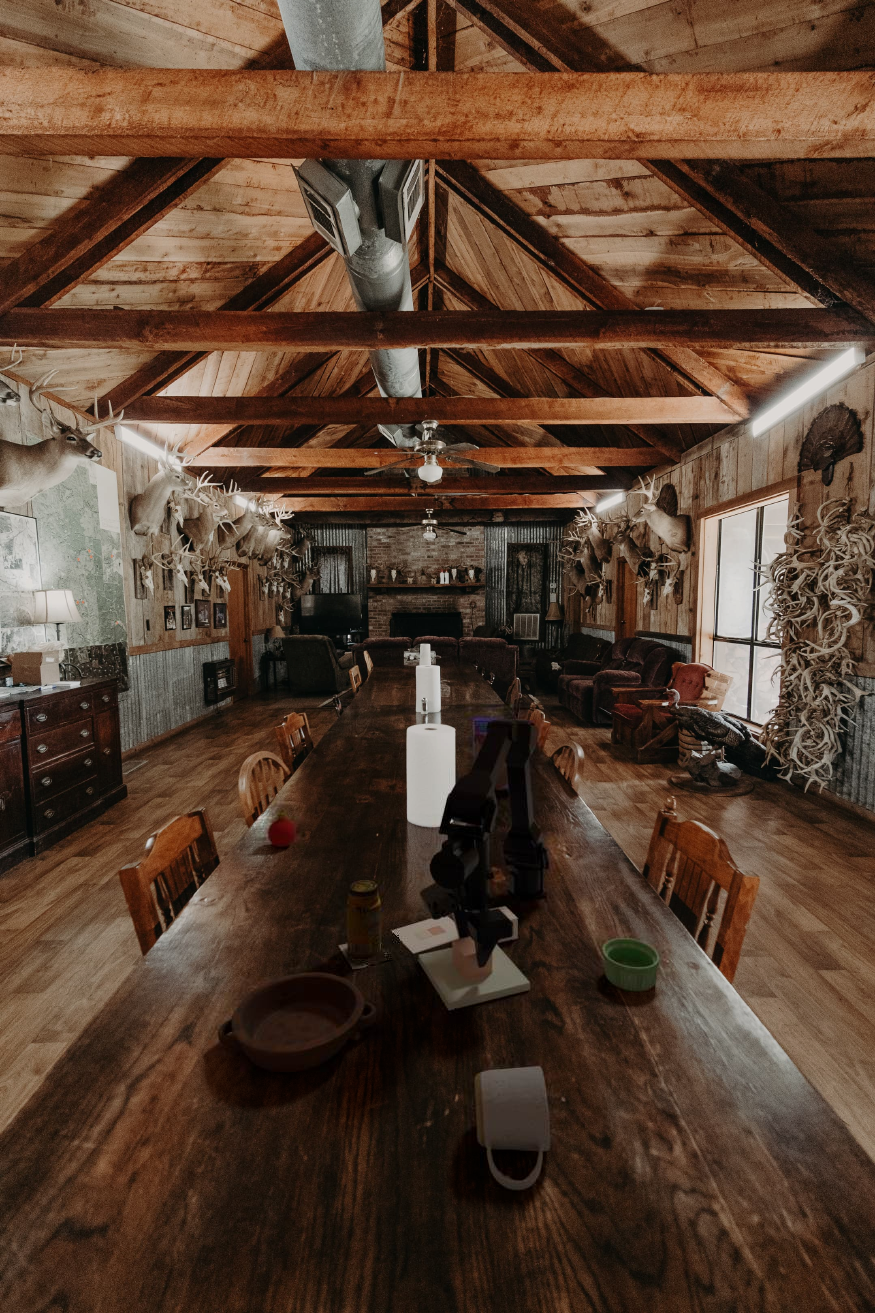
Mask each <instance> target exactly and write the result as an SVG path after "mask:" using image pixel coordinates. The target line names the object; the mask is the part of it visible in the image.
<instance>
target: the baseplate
mask: <svg viewBox="0 0 875 1313" xmlns="http://www.w3.org/2000/svg"><path fill="white" fill-rule="evenodd" d="M418 963H419V964H420V966H421V967H422V969H423V970H424V973H425V974H426V976H427V977H428V979H429V981H430V982H431V984H432V986H433V988H434V989H435V991H436V990H437V991H436V992H437V994H438V993H439V994H438V995H440V996H439V997H440V998H441V1001H442V1002H443V1004H444V1003H445V1004H444V1005H445V1007H446V1009H447V1010H448V1011H451V1010H456V1009H460V1008H463V1007H467V1006H471V1005H476V1004H480V1003H484V1002H487V1001H491V1000H495V999H500V998H503V997H507V996H510V995H516V994H519V993H522V992H527V991H530V990H531V982H530V981H529V979H527V977H526V976H525V975H524V974H523V972H522V971H521V970H520V969H519V968H518V967H517V966H516V965H515V964H514V962H513V961H512V960H511V959H510V958H509V956H507V954H506V953H505V952H504V951H503V950H502V949H501V947H500V946H499V945H498V943H497V944H496V946H495V948H494V950H493V952H492V973H490V974H486V975H482V976H478V977H474V978H470V979H466V980H464V978H463V977H462V976H461V974H460V973H459V971H458V970H457V969H456V967H455V966H454V965H453V955H452V947H449V948H445V949H439V950H435V951H430V952H425V953H421V954H418ZM455 1008H456V1009H455Z"/></svg>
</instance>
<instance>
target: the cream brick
mask: <svg viewBox="0 0 875 1313" xmlns="http://www.w3.org/2000/svg"><path fill="white" fill-rule="evenodd" d="M488 909H489V910H494V909H500V910H501V911H502V912H503V913H504V914H505V915H506V916H507V917H508V918H509V919H510V920H511V921H512V922H513V936H512V937H509V938H505V939H500V940H499V941H498V943H503V942H508V941H511V940H512V941H513V940H517V939H518V937H519V935H518V934H519V933H518V929H519V924H518V923H519V922H518V920H519V918H518V917H517V916H516V915H515V914H514V913H513V912H512V911H511V910H510V909H509V908H508V907H507V906H505V905H504V906H500V907H495V908H494V907H493V908H488ZM498 943H497V944H498Z"/></svg>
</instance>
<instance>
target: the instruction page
mask: <svg viewBox="0 0 875 1313" xmlns="http://www.w3.org/2000/svg"><path fill="white" fill-rule="evenodd" d="M391 931H392V932H391V933H392V934H393V933H394V934H395V935H396V936H397V935H399V936H397V937H399V939H400V940H399V939H398V940H399V942H401V941H402V942H401V944H403V945H404V947H406V949H407V950H409V951H410V952H411V953H412V954H413V955H415V954H418V953H421V952H424V951H427V950H430V949H433V948H435V947H440V946H442V945H445V944H449V943H451V942H452V940H457V939H459V937H458V933H457V930H456V926H455V922H454V919H452V918H450V917H449V915H448V916H446V917H442V918H440V919H438V920H433V919H432V918H429V919H428V918H427V919H424V920H422V921H418V922H416V923H412V924H409V925H405V926H402V927H398V928H395V929H393V930H392V929H391ZM394 934H393V935H394ZM395 935H394V936H395ZM396 936H395V937H396ZM397 937H396V938H397Z"/></svg>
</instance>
